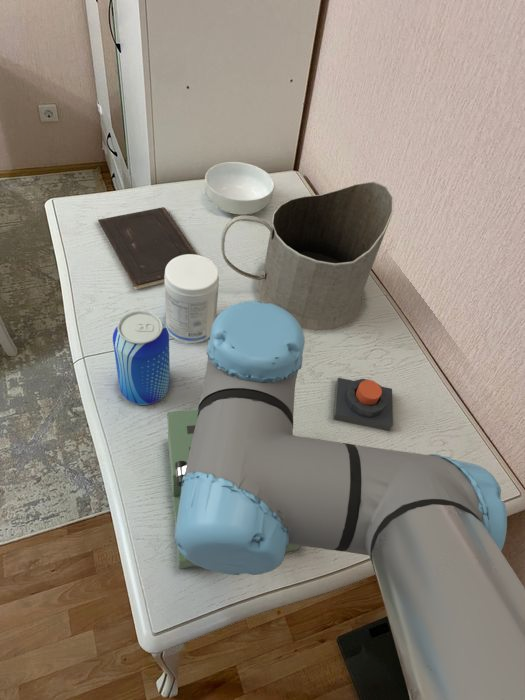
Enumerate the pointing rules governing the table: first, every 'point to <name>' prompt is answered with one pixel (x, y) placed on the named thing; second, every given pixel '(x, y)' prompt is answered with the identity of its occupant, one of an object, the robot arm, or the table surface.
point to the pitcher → (322, 253)
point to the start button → (368, 392)
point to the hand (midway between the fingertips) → (223, 522)
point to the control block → (362, 406)
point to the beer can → (142, 357)
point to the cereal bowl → (239, 187)
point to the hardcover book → (145, 244)
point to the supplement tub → (191, 297)
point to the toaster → (179, 448)
